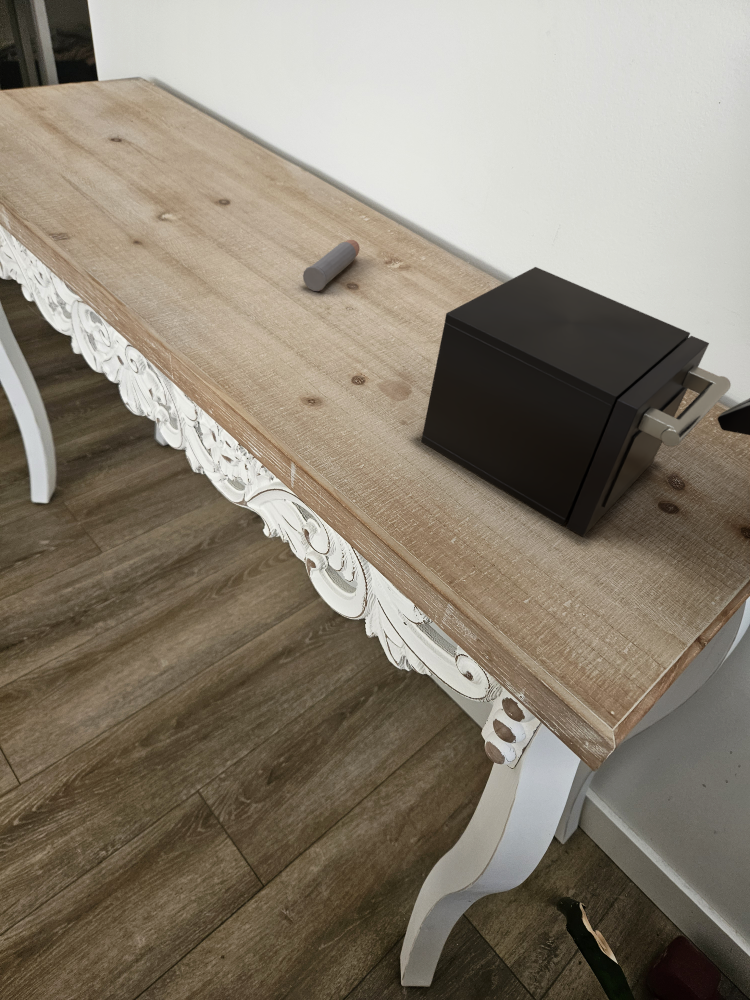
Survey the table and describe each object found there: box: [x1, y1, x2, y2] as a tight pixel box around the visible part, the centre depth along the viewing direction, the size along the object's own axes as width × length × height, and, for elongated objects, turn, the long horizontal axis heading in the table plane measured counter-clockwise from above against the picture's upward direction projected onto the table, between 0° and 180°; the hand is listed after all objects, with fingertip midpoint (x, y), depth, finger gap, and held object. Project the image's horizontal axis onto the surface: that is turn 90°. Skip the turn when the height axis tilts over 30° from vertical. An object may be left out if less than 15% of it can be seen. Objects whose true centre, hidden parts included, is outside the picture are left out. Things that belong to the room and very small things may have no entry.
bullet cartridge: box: [302, 239, 360, 292], centre depth 86 cm, size 11×3×3 cm, turn 157°
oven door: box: [566, 335, 732, 537], centre depth 57 cm, size 5×14×13 cm, turn 140°
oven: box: [420, 266, 691, 527], centre depth 61 cm, size 15×14×13 cm
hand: (720, 421), depth 53 cm, fingers closed
